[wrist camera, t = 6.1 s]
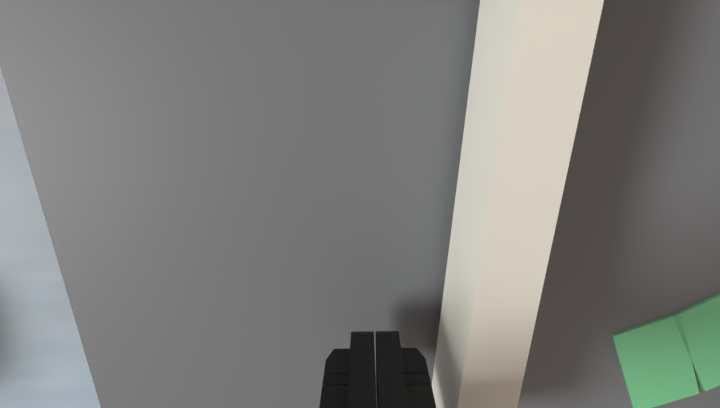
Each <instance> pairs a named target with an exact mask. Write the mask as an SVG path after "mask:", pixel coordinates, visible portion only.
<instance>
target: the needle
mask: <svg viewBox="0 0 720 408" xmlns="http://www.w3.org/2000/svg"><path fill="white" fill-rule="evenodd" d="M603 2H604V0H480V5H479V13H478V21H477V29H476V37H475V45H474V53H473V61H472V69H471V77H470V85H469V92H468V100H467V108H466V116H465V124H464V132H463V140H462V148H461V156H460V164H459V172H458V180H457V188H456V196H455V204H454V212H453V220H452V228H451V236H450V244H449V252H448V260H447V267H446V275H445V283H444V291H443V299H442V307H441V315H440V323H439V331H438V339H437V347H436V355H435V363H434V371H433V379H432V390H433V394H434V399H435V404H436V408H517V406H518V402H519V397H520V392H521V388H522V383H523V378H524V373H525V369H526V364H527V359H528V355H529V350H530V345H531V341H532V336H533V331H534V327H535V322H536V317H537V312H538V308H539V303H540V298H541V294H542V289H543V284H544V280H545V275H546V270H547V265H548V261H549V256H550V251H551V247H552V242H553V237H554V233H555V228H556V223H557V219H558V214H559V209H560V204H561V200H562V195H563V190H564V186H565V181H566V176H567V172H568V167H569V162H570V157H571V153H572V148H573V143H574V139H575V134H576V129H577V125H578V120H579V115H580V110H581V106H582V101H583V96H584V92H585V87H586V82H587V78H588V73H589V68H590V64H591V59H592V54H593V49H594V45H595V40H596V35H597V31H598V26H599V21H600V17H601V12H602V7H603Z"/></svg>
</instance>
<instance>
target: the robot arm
mask: <svg viewBox="0 0 720 408" xmlns="http://www.w3.org/2000/svg"><path fill="white" fill-rule="evenodd" d="M375 336H376V373H375V347H374V331H353V332H351V340H350V349H333V351H332V352H331V354H330V355H329V356H328V358H327V359H326V361H325V369H324V376H323V383H322V391H321V398H320V405H319V408H436V404H435V399H434V394H433V390H432V386H431V381H430V376H429V371H428V367H427V362H426V359H425V357H424V356H423V355H422V354H421V353H420V351H419V350H418V349H417V348H401V344H400V337H399V331H376V333H375ZM376 395H377V400H376Z"/></svg>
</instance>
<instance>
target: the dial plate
mask: <svg viewBox="0 0 720 408" xmlns="http://www.w3.org/2000/svg"><path fill="white" fill-rule="evenodd" d="M479 5H480V0H0V66H1V70H2V73H3V77H4V80H5V83H6V87H7V90H8V94H9V97H10V100H11V104H12V107H13V111H14V114H15V117H16V121H17V124H18V127H19V131H20V134H21V138H22V141H23V144H24V148H25V151H26V155H27V158H28V161H29V165H30V168H31V172H32V175H33V178H34V182H35V185H36V188H37V192H38V195H39V199H40V202H41V205H42V209H43V212H44V216H45V219H46V222H47V226H48V229H49V233H50V236H51V239H52V243H53V246H54V249H55V253H56V256H57V260H58V263H59V266H60V270H61V273H62V277H63V280H64V283H65V287H66V290H67V294H68V297H69V300H70V304H71V307H72V310H73V314H74V317H75V321H76V324H77V327H78V331H79V334H80V338H81V341H82V344H83V348H84V351H85V355H86V358H87V361H88V365H89V368H90V371H91V375H92V378H93V382H94V385H95V388H96V392H97V395H98V399H99V402H100V405H101V408H319V405H320V398H321V391H322V383H323V376H324V369H325V361H326V359H327V358H328V356H329V355H330V354H331V352H332V351H333V349H350V340H351V332H353V331H374V347H375V373H376V336H375V333H376V331H399V337H400V344H401V348H417V349H418V350H419V351H420V353H421V354H422V355H423V356H424V357H425V359H426V362H427V367H428V371H429V376H430V381H431V386H432V379H433V371H434V363H435V355H436V347H437V339H438V331H439V323H440V315H441V307H442V299H443V291H444V283H445V275H446V267H447V260H448V252H449V244H450V236H451V228H452V220H453V212H454V204H455V196H456V188H457V180H458V172H459V164H460V156H461V148H462V140H463V132H464V124H465V116H466V108H467V100H468V92H469V85H470V77H471V69H472V61H473V53H474V45H475V37H476V29H477V21H478V13H479ZM376 400H377V395H376ZM517 408H720V0H604V2H603V7H602V12H601V17H600V21H599V26H598V31H597V35H596V40H595V45H594V49H593V54H592V59H591V64H590V68H589V73H588V78H587V82H586V87H585V92H584V96H583V101H582V106H581V110H580V115H579V120H578V125H577V129H576V134H575V139H574V143H573V148H572V153H571V157H570V162H569V167H568V172H567V176H566V181H565V186H564V190H563V195H562V200H561V204H560V209H559V214H558V219H557V223H556V228H555V233H554V237H553V242H552V247H551V251H550V256H549V261H548V265H547V270H546V275H545V280H544V284H543V289H542V294H541V298H540V303H539V308H538V312H537V317H536V322H535V327H534V331H533V336H532V341H531V345H530V350H529V355H528V359H527V364H526V369H525V373H524V378H523V383H522V388H521V392H520V397H519V402H518V406H517Z"/></svg>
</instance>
